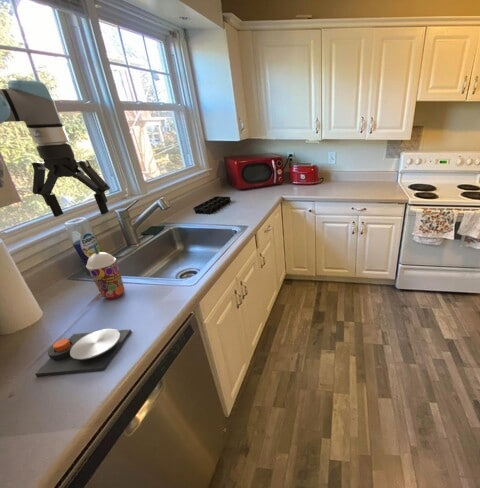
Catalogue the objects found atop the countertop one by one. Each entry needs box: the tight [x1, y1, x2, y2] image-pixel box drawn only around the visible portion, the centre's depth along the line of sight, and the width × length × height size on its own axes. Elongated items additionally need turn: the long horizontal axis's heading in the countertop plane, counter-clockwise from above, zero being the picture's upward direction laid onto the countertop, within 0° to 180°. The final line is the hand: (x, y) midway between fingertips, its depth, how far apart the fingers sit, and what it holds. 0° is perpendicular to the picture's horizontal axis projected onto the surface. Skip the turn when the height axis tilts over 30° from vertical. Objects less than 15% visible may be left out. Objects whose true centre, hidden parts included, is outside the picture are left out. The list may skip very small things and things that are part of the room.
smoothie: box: [85, 245, 126, 300], centre depth 98 cm, size 8×8×20 cm
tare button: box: [52, 338, 71, 352], centre depth 76 cm, size 3×3×2 cm
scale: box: [34, 329, 132, 378], centre depth 77 cm, size 17×14×3 cm
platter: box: [70, 328, 120, 360], centre depth 77 cm, size 11×11×1 cm
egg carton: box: [192, 195, 231, 215], centre depth 193 cm, size 18×30×4 cm, turn 1°
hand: (82, 214), depth 89 cm, fingers open, 13 cm apart
